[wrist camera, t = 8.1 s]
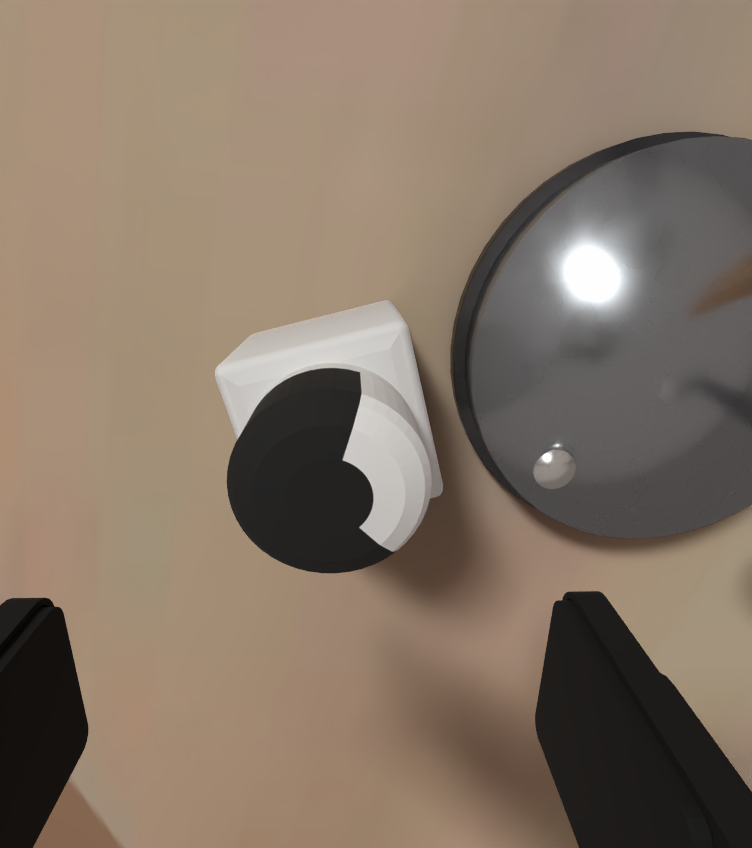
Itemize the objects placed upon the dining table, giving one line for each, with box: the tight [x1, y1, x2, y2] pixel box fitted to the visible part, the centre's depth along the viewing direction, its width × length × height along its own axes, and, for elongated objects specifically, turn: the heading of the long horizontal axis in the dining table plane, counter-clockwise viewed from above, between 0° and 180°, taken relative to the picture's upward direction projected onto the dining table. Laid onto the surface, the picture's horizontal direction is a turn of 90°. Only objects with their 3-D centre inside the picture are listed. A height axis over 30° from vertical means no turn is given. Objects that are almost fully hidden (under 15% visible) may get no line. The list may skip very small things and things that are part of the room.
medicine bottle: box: [215, 300, 443, 573], centre depth 20 cm, size 7×7×12 cm
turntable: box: [465, 136, 752, 538], centre depth 22 cm, size 18×18×6 cm
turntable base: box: [451, 132, 728, 508], centre depth 25 cm, size 19×19×1 cm
